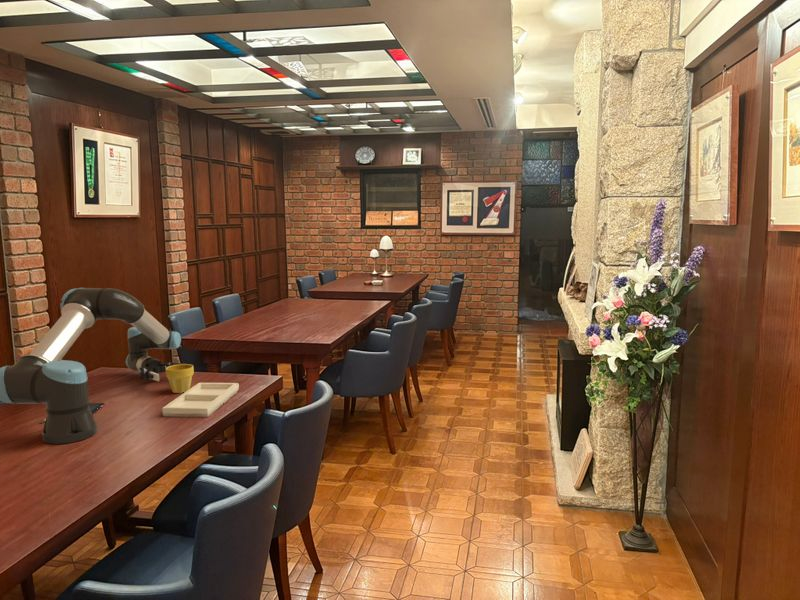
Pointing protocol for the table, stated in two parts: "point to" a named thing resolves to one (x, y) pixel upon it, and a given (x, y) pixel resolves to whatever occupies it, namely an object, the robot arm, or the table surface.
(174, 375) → the plant pot
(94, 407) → the wallet
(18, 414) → the table surface
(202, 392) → the divided tray
